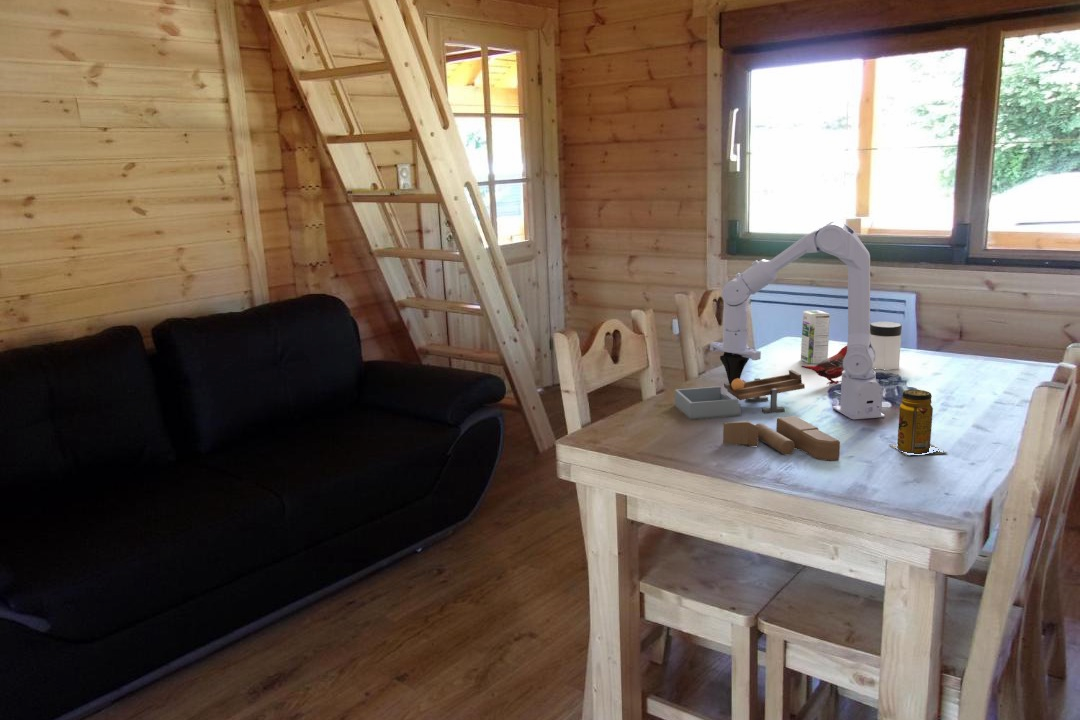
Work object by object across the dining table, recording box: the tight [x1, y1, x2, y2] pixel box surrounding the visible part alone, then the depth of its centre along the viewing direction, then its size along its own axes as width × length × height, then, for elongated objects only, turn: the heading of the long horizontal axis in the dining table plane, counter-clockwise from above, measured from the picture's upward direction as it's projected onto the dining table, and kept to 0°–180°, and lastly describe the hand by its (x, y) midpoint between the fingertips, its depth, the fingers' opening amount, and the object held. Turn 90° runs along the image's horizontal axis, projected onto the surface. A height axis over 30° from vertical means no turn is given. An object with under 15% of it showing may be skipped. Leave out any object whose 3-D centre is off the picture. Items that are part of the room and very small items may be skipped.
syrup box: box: [800, 309, 831, 365], centre depth 240 cm, size 6×6×14 cm
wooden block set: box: [722, 415, 841, 462], centre depth 170 cm, size 17×6×18 cm
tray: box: [674, 385, 741, 421], centre depth 198 cm, size 12×12×4 cm
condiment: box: [888, 389, 948, 457], centre depth 167 cm, size 7×8×12 cm
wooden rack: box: [723, 369, 806, 401], centre depth 201 cm, size 16×12×3 cm
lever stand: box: [745, 377, 786, 415], centre depth 200 cm, size 5×11×6 cm, turn 8°
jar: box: [870, 321, 903, 371], centre depth 231 cm, size 9×8×12 cm
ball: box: [731, 378, 744, 391], centre depth 198 cm, size 3×3×3 cm
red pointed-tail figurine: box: [800, 345, 847, 386], centre depth 215 cm, size 3×18×10 cm, turn 112°
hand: (733, 383), depth 204 cm, fingers closed, pressing on wooden rack
